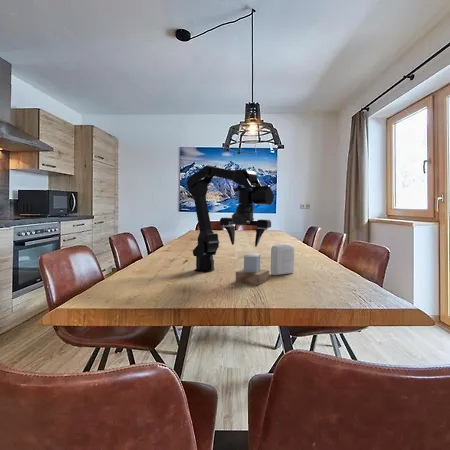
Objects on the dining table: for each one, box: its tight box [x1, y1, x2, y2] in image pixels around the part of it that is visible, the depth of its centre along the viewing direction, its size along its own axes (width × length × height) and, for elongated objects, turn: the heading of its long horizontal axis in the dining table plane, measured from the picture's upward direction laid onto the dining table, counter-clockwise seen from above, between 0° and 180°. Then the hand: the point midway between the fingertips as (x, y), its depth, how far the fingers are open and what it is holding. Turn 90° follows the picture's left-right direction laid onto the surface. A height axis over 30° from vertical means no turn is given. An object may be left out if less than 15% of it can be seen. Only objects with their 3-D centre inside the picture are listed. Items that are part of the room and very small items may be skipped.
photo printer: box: [270, 242, 295, 276], centre depth 135 cm, size 10×4×12 cm, turn 123°
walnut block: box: [235, 268, 270, 286], centre depth 121 cm, size 9×9×4 cm
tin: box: [243, 252, 261, 273], centre depth 121 cm, size 5×5×6 cm
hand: (244, 245), depth 127 cm, fingers open, 9 cm apart
